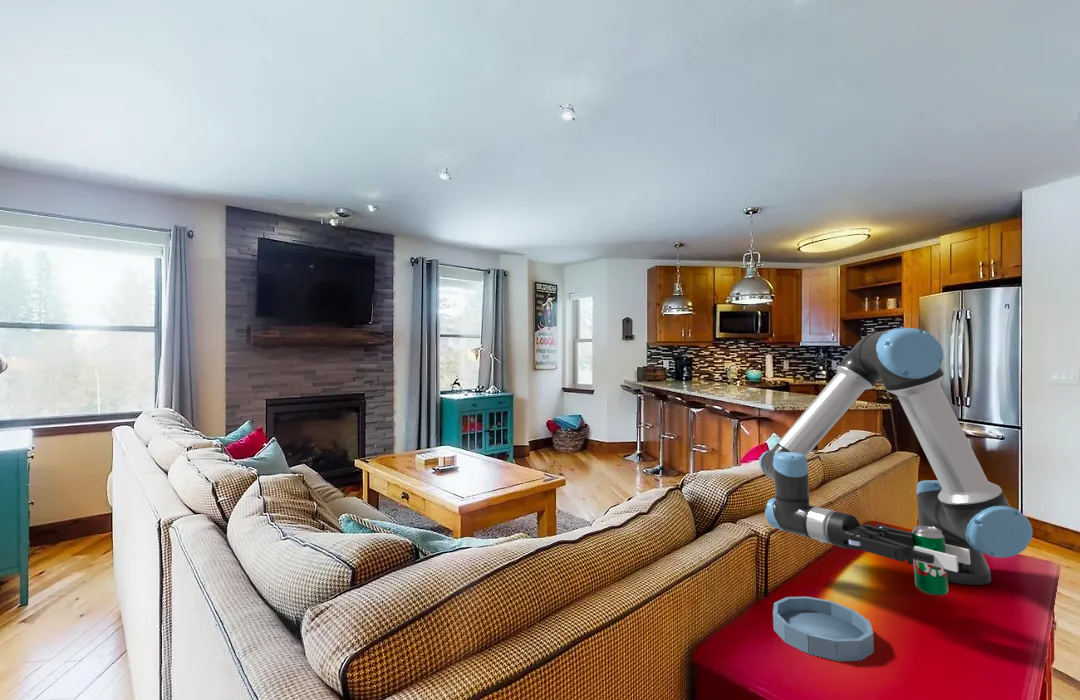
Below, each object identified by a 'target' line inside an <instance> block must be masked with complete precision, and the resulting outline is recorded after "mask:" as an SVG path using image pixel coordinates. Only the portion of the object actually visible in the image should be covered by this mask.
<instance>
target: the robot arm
mask: <svg viewBox="0 0 1080 700" xmlns="http://www.w3.org/2000/svg"><path fill="white" fill-rule="evenodd" d="M943 360H944V349H943V348H942V345H941V343H940V342H939V340H938V339H937V338H936V337H935V336H934V335H932V334H931V333H929V332H928V331H926V330H922V329H919V328H913V327H897V328H892V329H887V330H881V331H876V332H872V333H869V334H868V335H866V336H864V337H862V338H861V339H860V340H859V341H858V342H857V343H856V344H855V345H854V346H853V347H852V349H851V350H850V351H849V352H848V353H847V355H845V357H844V358H843V359H842V360H841V362H839V364H838V365H837V367H836V373H835V375H834V376H833V377H832V379H831V380H830V381H829V382H828V384H826V386H825V387H824V388H823V389H822V391H820V392H819V394H818V395H817V396H816V398H814V400H813V401H812V402H811V403H810V404H809V405H808V407H807V408H806V409H805V410H804V412H802V414H801V415H800V416H799V417H798V418H797V420H796V421H795V422H794V423H793V424H792V425H791V427H789V429H788V431H786V432H785V434H784V435H783V436H782V437H781V438H780V440H778V442H777V443H776V444H775V445H774V446H773V447H772V449H770V450H767V451H765V452H763V453H762V454H761V455H760V457H759V461H758V462H759V466H760V467H759V468H760V469H761V471H762V473H764V475H765V476H766V477H768V478H769V479H771V481H773V482H774V490H775V491H774V492H775V494H774V495H775V496H774V497H772V498H770V499H769V500H768V501H767V503H766V508H765V510H764V515H765V520H766V521H767V523H768V524H769V525H770V526H771V527H773V528H774V529H775V528H776V529H778V530H781V531H784V532H786V533H789V534H795V535H798V536H802V537H804V538H808V539H813V540H817V541H819V543H821V544H825V543H827V544H832V545H834V546H837V547H839V548H843V549H847V550H851V549H852V550H858V551H863V552H867V553H870V554H874V555H878V556H880V557H881V556H882V557H885V558H888V559H891V560H895V561H897V562H898V561H899V562H903V563H904V562H907V563H906V564H907V565H912V566H914V561H913V559H915V561H918V562H922V563H925V564H929V565H932V566H936V567H940V568H943V569H947V579H948V583H949V582H950V583H954V584H960V585H961V584H962V585H971V586H983V585H988V584H989V583H991V581H992V576H991V569H990V567H989V564H988V563H987V561H986V560H987V559H986V558H985V555H988V556H990V557H994V558H1011V557H1014V556H1017V555H1019V554H1020V553H1022V552H1023V551H1025V550H1026V548H1027V547H1028V545H1029V543H1031V541H1032V538H1033V533H1034V532H1033V528H1032V527H1033V525H1032V523H1031V521H1030V520H1029V519H1028V518H1027V516H1026V515H1025V514H1023V513H1022V512H1021V511H1020V510H1018V509H1017V508H1015V507H1013V506H1012V507H1011V505H1010V503H1009V501H1008V499H1007V498H1006V495H1005V494H1004V491H1003V489H1002V488H1001V486H1000V485H997V484H996V483H993V482H991V481H989V480H988V478H987V476H986V475H985V473H984V470H983V468H982V465H981V464H980V462H979V460H978V458H977V457H976V454H975V452H974V450H973V448H972V446H971V444H970V442H969V439H968V438H967V436H966V433H965V432H964V430H963V428H962V425H961V424H960V422H959V419H958V417H957V415H956V413H955V412H954V410H953V407H952V405H951V403H950V402H949V400H948V398H947V396H946V394H945V392H944V390H943V388H942V385H941V382H942V380H943V379H944V377H945V374H944V371H943V369H942V367H941V366H942V362H943ZM880 381H881V382H882V385H883V387H884V389H885V390H886V392H888V393H891V394H893V395H896V397H897V399H898V400H899V403H900V405H901V407H902V409H903V411H904V413H905V415H906V417H907V419H908V422H909V423H910V426H911V428H912V429H913V432H914V434H915V436H916V438H917V440H918V442H919V444H920V447H921V448H922V450H923V453H924V454H925V456H926V459H927V460H928V463H929V465H930V467H931V469H932V471H933V473H934V475H935V476H936V479H937V480H935V479H934V480H931V479H930V480H928V479H926V480H921V481H919V482H918V483H917V486H916V487H917V488H916V498H917V501H916V502H917V513H918V514H917V515H918V517H917V518H918V526H929V527H934V528H937V529H940V530H941V531H942V534H943V536H944V537H945V551H946V553H942V552H938V551H934V550H930V549H926V548H922V547H918V546H914V550H913V546H912V531H907V530H902V529H898V528H893V527H890V526H886V525H884V524H881V523H879V524H877V523H876V526H873V525H871V524H863V525H861V523H860V522H859V521H858V519H857V517H856V516H855V515H853V514H850V513H845V512H842V511H835V510H834V509H833V510H832V509H829V508H824V507H819V506H815V505H812V504H810V488H809V487H810V486H809V467H808V466H809V465H808V462H807V461H808V460H807V457H808V455H810V453H812V451H813V450H814V449H815V447H816V446H817V445H818V444H819V443H820V442H821V441H822V439H823V438H824V437H825V436H826V435H827V434H828V432H829V431H831V429H832V428H833V427H834V426H835V424H836V423H837V422H838V421H839V420H840V419H841V417H843V415H845V413H846V412H847V411H848V410H849V409H850V408H851V406H852V405H853V404H855V402H856V401H857V400H858V399H859V397H860V396H861V395H862V394H863V393H864V392H865V391H866V390H872V389H873V388H874V387H875V386H876V384H878V383H879V382H880ZM984 554H985V555H984Z"/></svg>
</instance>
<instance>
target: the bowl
mask: <svg viewBox="0 0 1080 700" xmlns="http://www.w3.org/2000/svg"><path fill="white" fill-rule="evenodd" d="M772 624H773V631H774V632H775V633H776V634H777V636H779V638H781V640H782V641H783V643H786V644H787V645H788V646H791V647H793V648H795V649H797V650H799V651H801V652H803V651H804V652H803V653H805V652H806V653H805V654H807V653H808V654H807V655H809V654H810V655H809V656H813V655H814V656H813V657H817V656H819V657H818V658H821V657H823V659H825V658H827V659H826V660H830V659H831V660H830V661H834V660H835V661H834V662H860V661H864V660H865V659H866V657H867V656H868V657H870V656H871V655H873V654H874V653H875V644H874V642H875V641H874V632H873V631H874V630H873V628H872V624H871V621H870V620H869V619H867V618H866V617H864V615H862V614H860V613H859V612H857V611H856V610H855V609H853V608H850V607H848V606H845V605H842V604H839V603H837V602H835V601H832V600H828V599H823V598H818V597H817V598H816V597H812V596H787V597H784V598H782V599H779V600H777V601H775V602H773V609H772ZM872 653H873V654H872ZM869 655H870V656H869ZM868 657H867V658H868ZM863 659H864V660H863ZM859 660H860V661H859Z"/></svg>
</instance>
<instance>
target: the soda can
mask: <svg viewBox="0 0 1080 700" xmlns="http://www.w3.org/2000/svg"><path fill="white" fill-rule="evenodd" d="M911 532H912V546H913V550H914V546H918V547H922V548H926V549H930V550H934V551H938V552H942V553H946V551H945V537H944V536H943V534H942V531H941V530H940V529H937V528H934V527H929V526H919V525H915V526H913V530H912V531H911ZM913 561H914V567H913V573H914V585H915V587H916V588H917V589H918V590H919V591H920V592H922V593H925V594H928V595H931V596H939V597H940V596H945V595H947V594H948V593H949V581H948V579H947V569H943V568H940V567H936V566H932V565H929V564H925V563H922V562H918V561H915V559H913Z"/></svg>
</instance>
